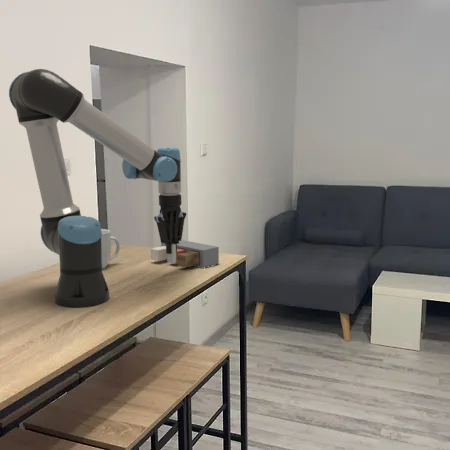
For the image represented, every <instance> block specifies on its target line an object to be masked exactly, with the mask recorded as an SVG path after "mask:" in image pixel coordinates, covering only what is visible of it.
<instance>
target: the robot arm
mask: <svg viewBox="0 0 450 450" xmlns="http://www.w3.org/2000/svg"><path fill="white" fill-rule="evenodd" d="M8 97H9V101H10V103H11V105H12V107H13V108H14V109H15V112H16V116H17V120H18V123H19V125H21V126H22V127H24V129H25V130H26V136H27V139H28V143H29V148H30V152H31V158H32V162H33V166H34V171H35V175H36V176H35V177H36V179H37V184H38V185H37V186H38V189H39V193H40V197H41V202H42V205H43V209H42V212H41V213H40V214H39V217H40V218H39V219H40V223H41V226H40V227H41V228H40V238H41V241H42V243H43V244H44V246H45V247H46V248H47V249H48V250H49V251H51V252H53V253H54V254H56V255H58V256H59V276H58V277H59V278H58V281H57V285H56V288H55V291H54V301H55V303H56V304H57V305H60V306H63V307H71V308H72V307H73V308H79V307H80V308H81V307H90V306H91V307H92V306H96V305H100V304H103V303H105V302H107V301H108V300H109V299H110V290H109V287H108V284H107V282H106V278H105V275H104V273H103V269H102V245H101V235H102V231H101V229H102V228H101V223H100V221H99V220H98V219H97V218H95V217H93V216H92V217H91V216H87V215H86V216H85V215H81V214H82V213H81V209H80V207H79V206H78V205H77V204H75V203H74V201H73V196H72V191H71V187H70V182H69V179H68V172H67V168H66V167H67V166H66V164H65V158H64V154H63V148H62V144H61V140H60V134H59V129H58V122H59V121H60V122H62V123H63V124H64V123H69V124H71V125H73V126H74V127H75V128H77V129H78V130H80V131H81V132H83V133H84V134H86V135H87V136H89V137H90V138H92V139H94V140H95V141H96V142H98V143H99V144H101V146H103V147H105V148H106V149H108V150H109V151H111V152H113V153H114V154H115V155H117V156H118V157H119V158H121V159H122V173H123V175H124V177H125V178H126V179H128V180H129V179H130V180H131V179H132V180H136V179H143V180H150V181H156V182H158V185H157V186H158V187H157V188H158V194H159V195H158V205H159V207H160V209H159V214H158V215H155V216H154V217H153V219H154V221H155V223H156V225H157V230H158V236H159V240H160V244H161V243H164V244H166V253H167V257H168V260H167V263H169V264H177V263H176V252H177V244H179V242H178V241H181V240H183V239H182V237H183V232H184V224H185V219H186V216H187V213H186V212H184V211H182V208H181V205H182V194H181V192H182V180H181V179H182V175H181V173H182V172H181V163H182V160H181V151H180V149H179V148H178V147H173V146H172V147H168V146H167V147H158V148H157V150H155V149H154V148H152V147H151V146H149V144H147V143H145V142H144V141H143V140H142V139H140V138H138V137H137V136H135V135H134V133H132V132H130V131H129V130H128V129H126V128H125V127H123V126H122V125H121V124H120V123H118V122H116V121H115V120H114V119H113V118H111V117H109V116H108V115H107V114H105V113H104V112H102V111H101V110H100V109H98V108H97V107H96V106H95V105H93V104H92V103H90V102H89V101H88V100H86V98H85V95H84V93H82V92H81V91H80V90H79V89H77V88H76V87H75V86H73V85H72V84H71V83H69V81H67V80H65V79H64V78H63V77H61V76H60V75H59V74H57V73H55V72H54V71H51V70H48V69H43V68H36V69H33V70H30V71H26V72H22V73H20V74H19V75H17V76H15V78H14V79H13V80H12V82H11V83H10V85H9V89H8Z"/></svg>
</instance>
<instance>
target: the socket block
mask: <svg viewBox="0 0 450 450" xmlns="http://www.w3.org/2000/svg"><path fill="white" fill-rule="evenodd" d="M178 242H179V244H177V249H178V248H183V249H186V252H190V251H198V252H200V264H197V265H194V266H193V267H195V266H199V267H198V268H200V267H203V268H202V269H205V268H204V267H207V268H209V267H208V266H210V267H213V266H212V265H214V266H217V265H216V264H218V265H219V261H220V260H219V258H220V257H219V255H220V254H219V251H220V250H219V249H220V247H219V246H215V245H210V244H206V243H205V244H204V243H199V242H195V241H190V240H189V241H188V240H184V239H181V241H178ZM160 245H161V246H166V244H164V243H161V242H160ZM161 246H160V247H161ZM164 261H168V259H165V260H164Z"/></svg>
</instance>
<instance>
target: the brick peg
mask: <svg viewBox="0 0 450 450" xmlns="http://www.w3.org/2000/svg"><path fill="white" fill-rule="evenodd" d="M181 253H186V249H183V248H178V249H177V252H176V263H175V264H177V254H181Z"/></svg>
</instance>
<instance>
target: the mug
mask: <svg viewBox="0 0 450 450" xmlns="http://www.w3.org/2000/svg"><path fill="white" fill-rule="evenodd" d="M101 231H102V235H101V245H102V270H103V269H105V268H106V267H108V266H107V265H108V264H109V261H112V260H113V259H115V258H116V257H117V256H118V255H119V252H120V250H121V249H120V247H121V245H120V242H119V239H117V238H116V237H114V236H111V234H112V233H111V230H110V229H105V228H101ZM112 240H113V241H114V242H115V244H116V249H115V252H114V253H113V254H112V255H111V253H112V251H111V249H112V248H111V247H112Z"/></svg>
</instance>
